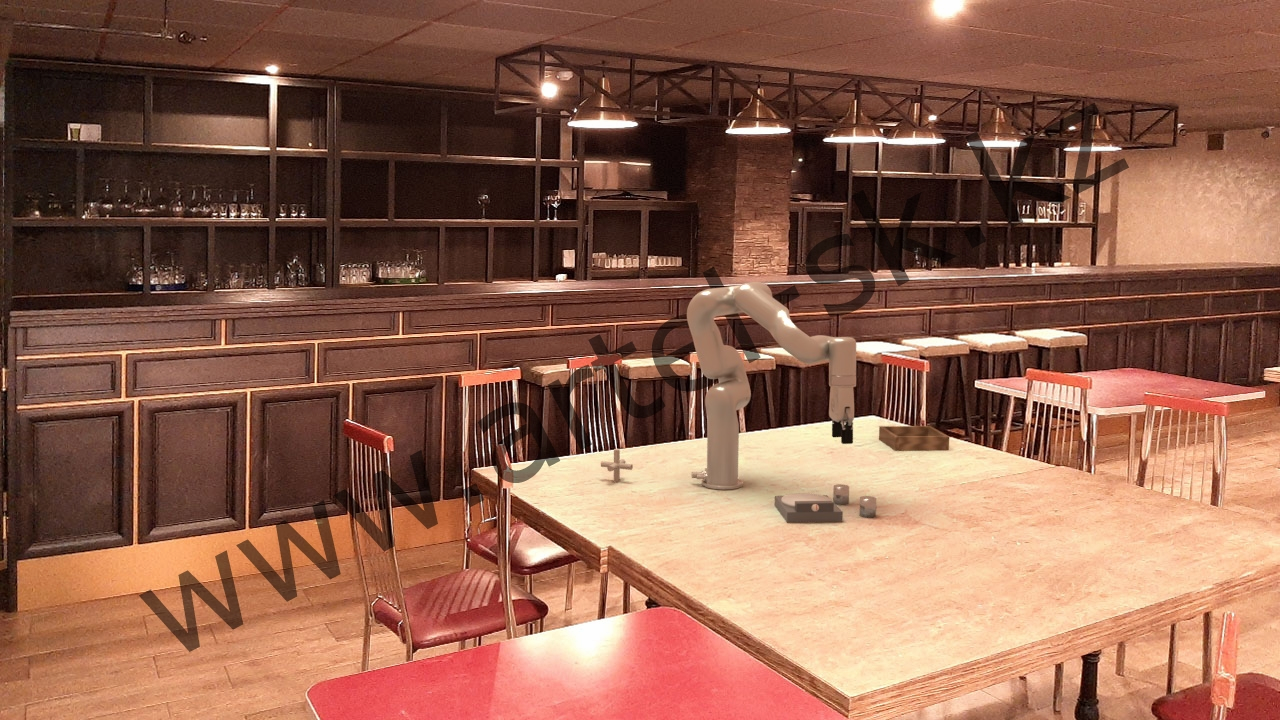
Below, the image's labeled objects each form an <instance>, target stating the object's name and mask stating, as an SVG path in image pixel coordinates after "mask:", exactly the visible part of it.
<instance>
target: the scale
mask: <svg viewBox="0 0 1280 720" xmlns="http://www.w3.org/2000/svg"><path fill="white" fill-rule="evenodd" d="M774 507H775V508H776V509H777V511H778V512H779V515H781V516H782V518H783V519H784V521H785V522H786V523H790V524H791V523H793V524H794V523H842V522H843V513H844V511H843V509H841V508H840V507H839V505H836V504H835V503H834V502H833V498H830V497H829V496H828V495H825V494H822V495H821V494H818V493H809V492H808V493H807V492H806V493H805V492H803V493H802V492H799V493H797V492H796V493H789V494H786V495H774Z"/></svg>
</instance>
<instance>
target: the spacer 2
mask: <svg viewBox="0 0 1280 720" xmlns="http://www.w3.org/2000/svg"><path fill="white" fill-rule="evenodd" d="M858 515H859V517H860V518H862V519H863V518H864V519H875V518H876V517H877V497H875V496H871V495H863V496H859V513H858Z"/></svg>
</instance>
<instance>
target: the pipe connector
mask: <svg viewBox="0 0 1280 720" xmlns="http://www.w3.org/2000/svg"><path fill="white" fill-rule="evenodd" d="M620 450H621V449H619V448H614V449H613V461H605V460H604V461H603V460H602V461H601V462H600V467H602V468H607V471H608V472H613V482H614V483H620V481H621V480H620V476H621V473H620V470H629V471H632V470H633V468H634V466H633V465H634V464H632V463H626V460H625V459H624V458H620V454H621V453H620V452H621V451H620Z"/></svg>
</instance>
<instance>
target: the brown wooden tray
mask: <svg viewBox="0 0 1280 720" xmlns="http://www.w3.org/2000/svg"><path fill="white" fill-rule="evenodd" d="M878 440H879V441H880V442H881V443H883V444H885V445H886V446H887V447H889V448H890V449H892V450H893V451H894V452H911V451H912V452H913V451H914V452H917V451H920V452H925V451H926V452H927V451H928V452H929V451H938V452H939V451H943V452H944V451H950V436H949V435H947V434H946V433H944V432H942V431H940V430H938V429H936V428H935V427H934V426H932V425H911V426H910V425H899V426H898V425H897V426H896V425H895V426H894V425H888V426H887V425H886V426H885V425H884V426H882V425H880V426H878Z"/></svg>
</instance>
